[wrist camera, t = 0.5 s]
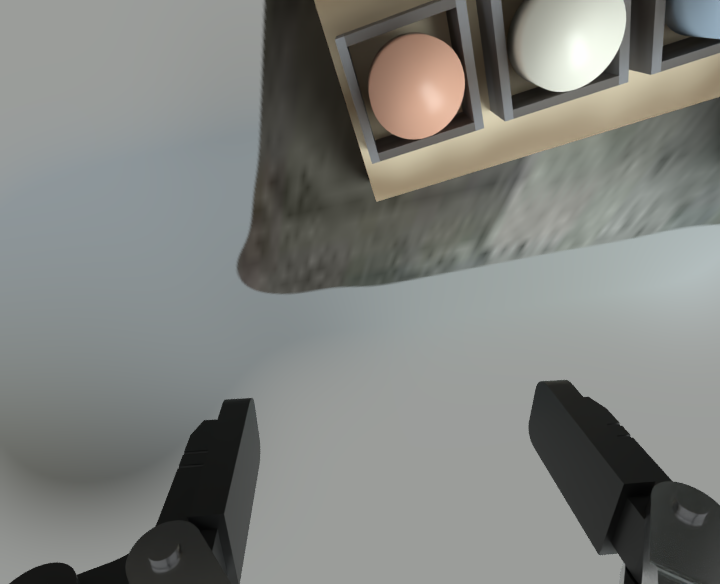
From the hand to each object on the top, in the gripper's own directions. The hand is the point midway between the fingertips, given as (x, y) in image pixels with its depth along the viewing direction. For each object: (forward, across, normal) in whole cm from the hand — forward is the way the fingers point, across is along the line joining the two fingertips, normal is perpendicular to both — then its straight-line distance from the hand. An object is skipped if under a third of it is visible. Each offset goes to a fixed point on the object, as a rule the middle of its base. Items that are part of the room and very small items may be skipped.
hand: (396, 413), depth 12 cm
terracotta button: (+18, -3, -9) cm, 20 cm away
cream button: (+17, -11, -11) cm, 23 cm away
